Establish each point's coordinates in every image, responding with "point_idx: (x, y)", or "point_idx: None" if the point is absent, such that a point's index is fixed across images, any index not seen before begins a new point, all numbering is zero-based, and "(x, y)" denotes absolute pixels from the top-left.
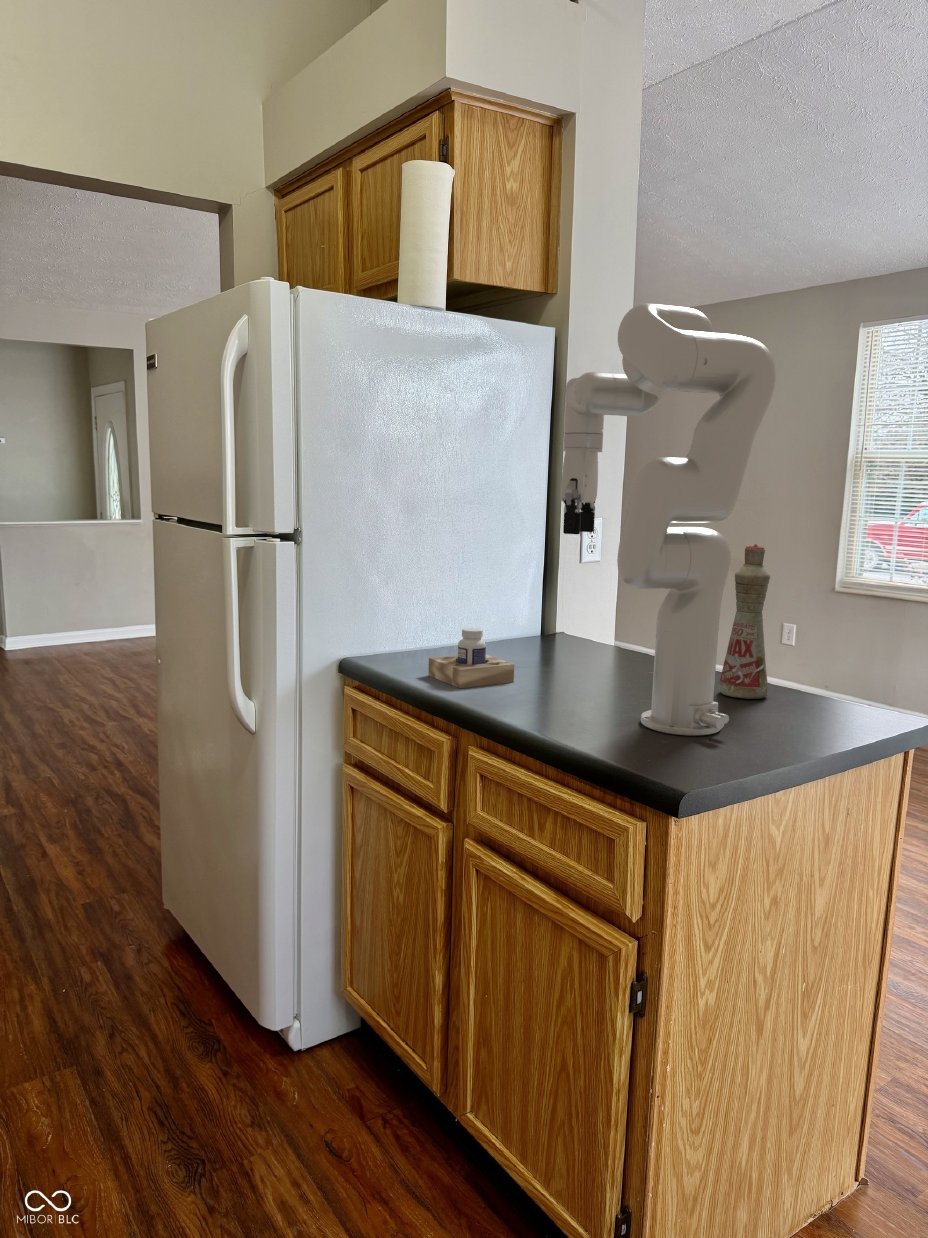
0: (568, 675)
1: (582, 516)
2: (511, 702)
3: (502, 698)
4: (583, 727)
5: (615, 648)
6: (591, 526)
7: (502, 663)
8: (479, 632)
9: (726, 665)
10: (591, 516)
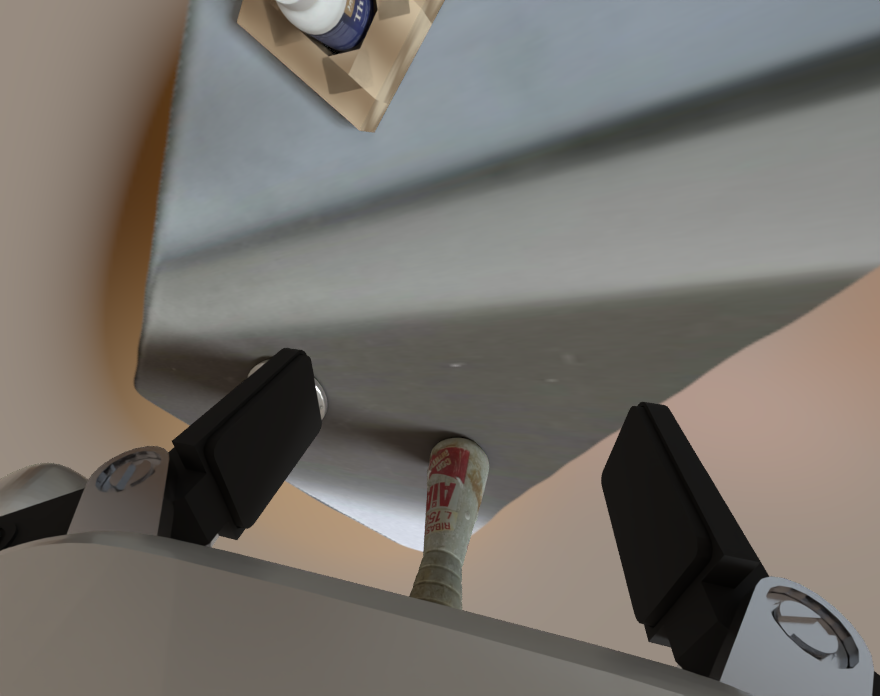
0: (484, 224)
1: (663, 527)
2: (248, 182)
3: (258, 157)
4: (215, 304)
5: (865, 270)
6: (608, 503)
7: (351, 98)
8: (278, 2)
9: (439, 468)
10: (634, 581)
